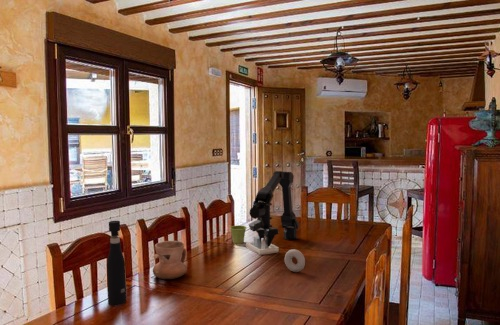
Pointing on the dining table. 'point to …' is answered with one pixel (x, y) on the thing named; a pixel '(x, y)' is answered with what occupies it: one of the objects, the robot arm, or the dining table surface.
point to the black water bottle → (116, 268)
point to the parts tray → (260, 251)
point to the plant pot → (238, 234)
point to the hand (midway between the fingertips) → (265, 244)
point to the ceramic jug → (170, 260)
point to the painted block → (257, 242)
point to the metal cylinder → (264, 243)
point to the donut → (300, 260)
